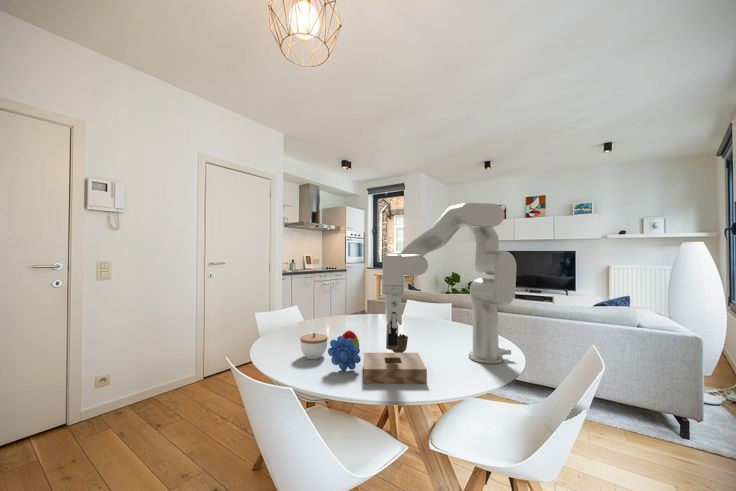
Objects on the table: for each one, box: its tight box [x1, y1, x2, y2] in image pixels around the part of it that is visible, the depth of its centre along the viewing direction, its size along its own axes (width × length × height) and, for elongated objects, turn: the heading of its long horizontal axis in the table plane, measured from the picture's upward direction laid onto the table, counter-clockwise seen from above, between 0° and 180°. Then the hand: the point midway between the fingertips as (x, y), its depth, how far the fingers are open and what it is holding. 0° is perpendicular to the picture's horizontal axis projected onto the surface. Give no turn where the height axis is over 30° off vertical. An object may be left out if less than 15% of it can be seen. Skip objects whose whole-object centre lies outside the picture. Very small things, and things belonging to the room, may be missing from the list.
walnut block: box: [363, 352, 428, 385], centre depth 103 cm, size 20×16×4 cm
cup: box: [391, 333, 409, 353], centre depth 121 cm, size 8×7×8 cm
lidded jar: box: [299, 332, 328, 360], centre depth 120 cm, size 11×11×9 cm
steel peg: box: [385, 323, 399, 351], centre depth 103 cm, size 4×4×8 cm
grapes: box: [327, 335, 361, 371], centre depth 105 cm, size 12×7×12 cm, turn 90°
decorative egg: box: [341, 330, 360, 348], centre depth 121 cm, size 8×8×10 cm
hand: (392, 342), depth 103 cm, fingers closed on steel peg, 4 cm apart
